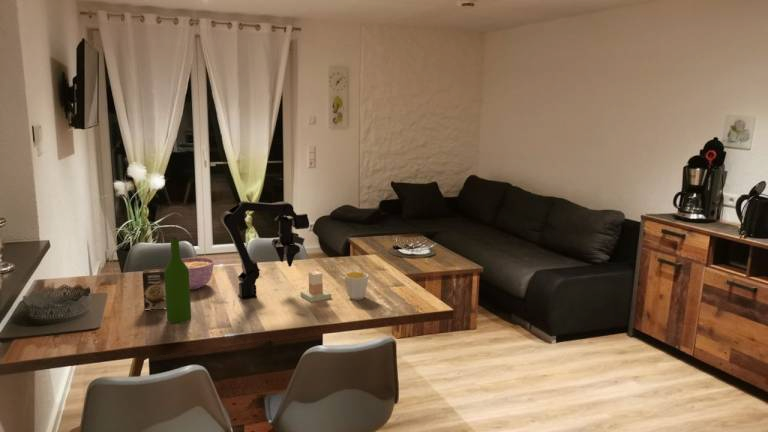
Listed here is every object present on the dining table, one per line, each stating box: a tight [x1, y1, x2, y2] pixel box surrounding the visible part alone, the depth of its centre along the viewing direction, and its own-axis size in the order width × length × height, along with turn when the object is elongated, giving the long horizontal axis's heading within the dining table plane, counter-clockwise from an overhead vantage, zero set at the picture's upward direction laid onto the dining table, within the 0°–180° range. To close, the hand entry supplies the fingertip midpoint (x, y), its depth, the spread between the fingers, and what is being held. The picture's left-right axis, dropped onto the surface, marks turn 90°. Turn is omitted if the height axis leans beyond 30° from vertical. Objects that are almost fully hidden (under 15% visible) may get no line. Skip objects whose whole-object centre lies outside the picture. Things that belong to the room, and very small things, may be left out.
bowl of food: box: [181, 257, 215, 290], centre depth 270 cm, size 20×20×12 cm
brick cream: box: [308, 270, 324, 285], centre depth 257 cm, size 4×4×4 cm
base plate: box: [300, 289, 332, 303], centre depth 258 cm, size 10×10×2 cm
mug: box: [344, 271, 369, 301], centre depth 258 cm, size 14×10×10 cm
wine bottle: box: [164, 237, 192, 324], centre depth 227 cm, size 9×9×32 cm
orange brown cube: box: [308, 282, 324, 295], centre depth 258 cm, size 4×4×4 cm
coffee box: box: [142, 267, 166, 310], centre depth 241 cm, size 9×6×16 cm
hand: (285, 264), depth 264 cm, fingers open, 9 cm apart
